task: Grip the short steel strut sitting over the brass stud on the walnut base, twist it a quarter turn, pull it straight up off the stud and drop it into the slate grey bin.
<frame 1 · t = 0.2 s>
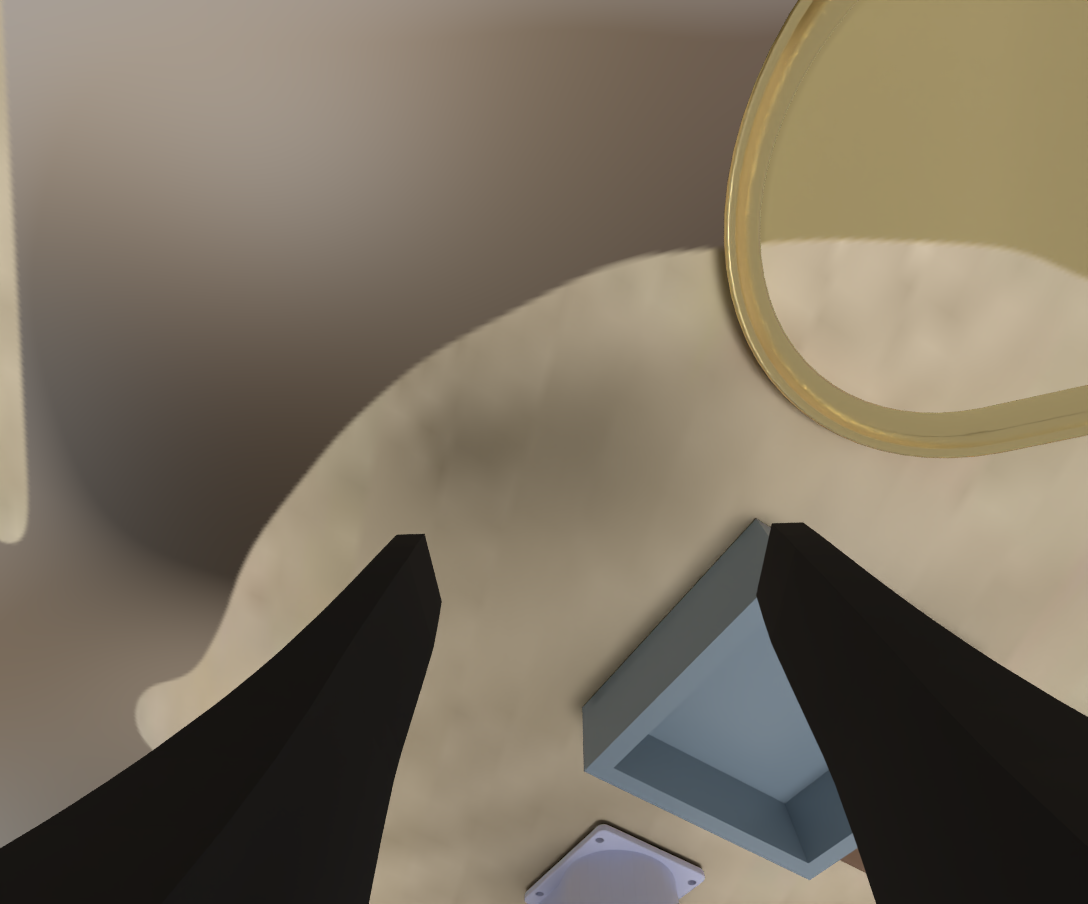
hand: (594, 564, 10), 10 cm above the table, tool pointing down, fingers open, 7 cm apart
bin: (770, 683, 25), on the table
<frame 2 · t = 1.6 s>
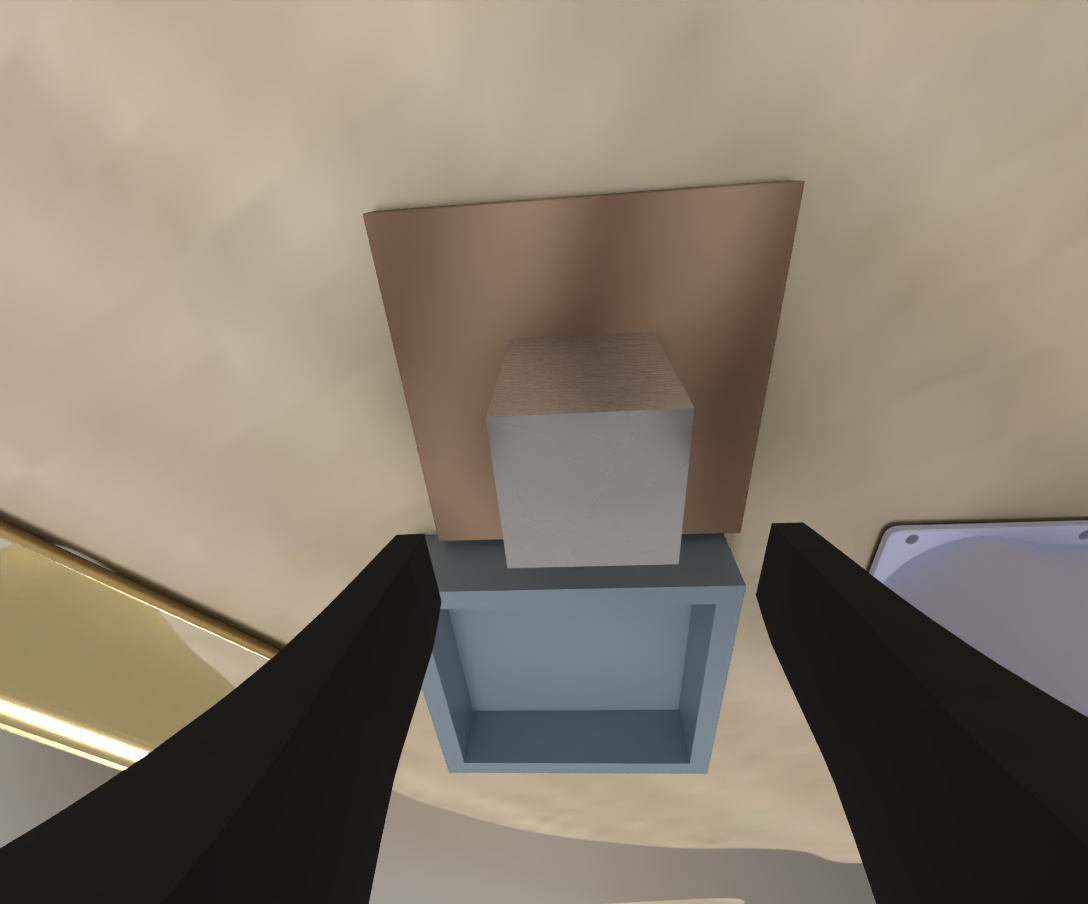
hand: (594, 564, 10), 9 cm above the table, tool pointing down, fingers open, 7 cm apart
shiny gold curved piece: (131, 663, 29), on the table
stud base: (581, 388, 18), on the table
strut: (582, 399, 17), point 1 cm above the table, touching stud base
bin: (570, 633, 25), on the table
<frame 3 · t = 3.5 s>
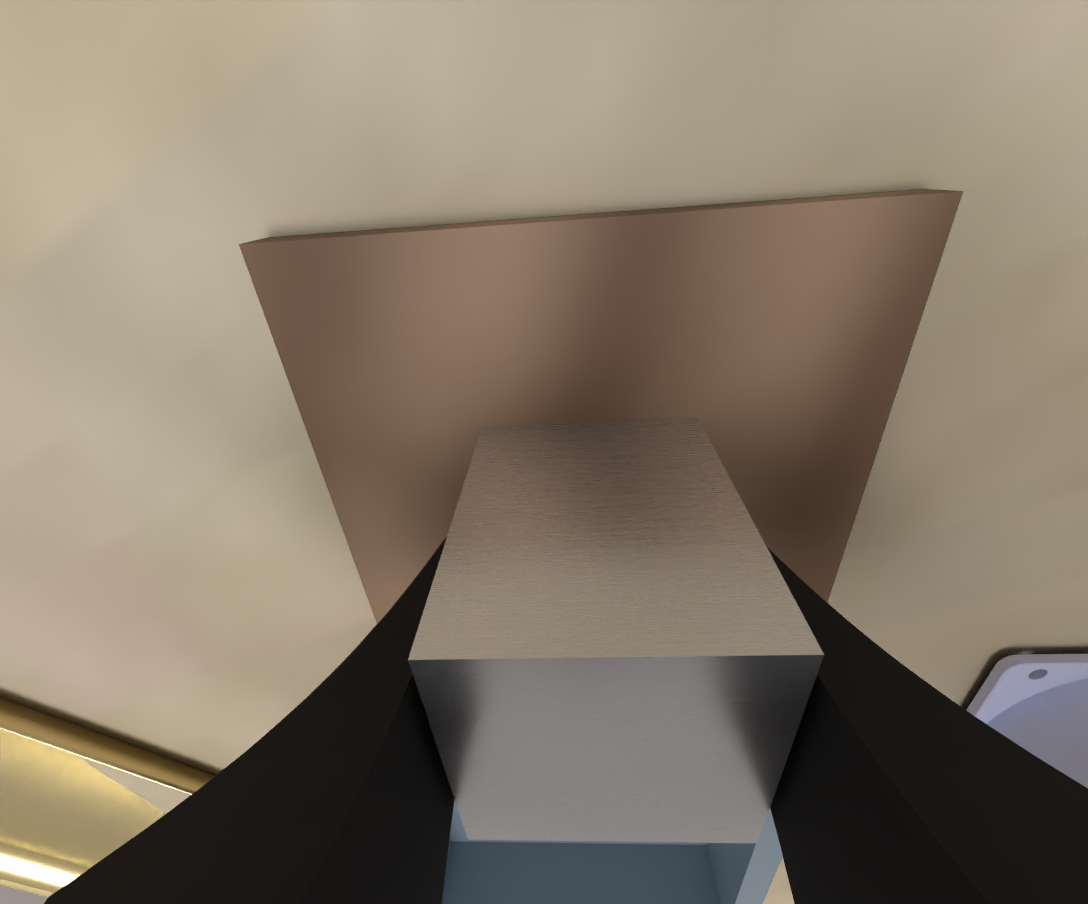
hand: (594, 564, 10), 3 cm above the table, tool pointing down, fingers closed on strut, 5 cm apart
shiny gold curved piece: (32, 778, 24), on the table
stud base: (588, 484, 13), on the table
strut: (590, 507, 12), point 1 cm above the table, touching gripper, stud base
bin: (571, 762, 20), on the table
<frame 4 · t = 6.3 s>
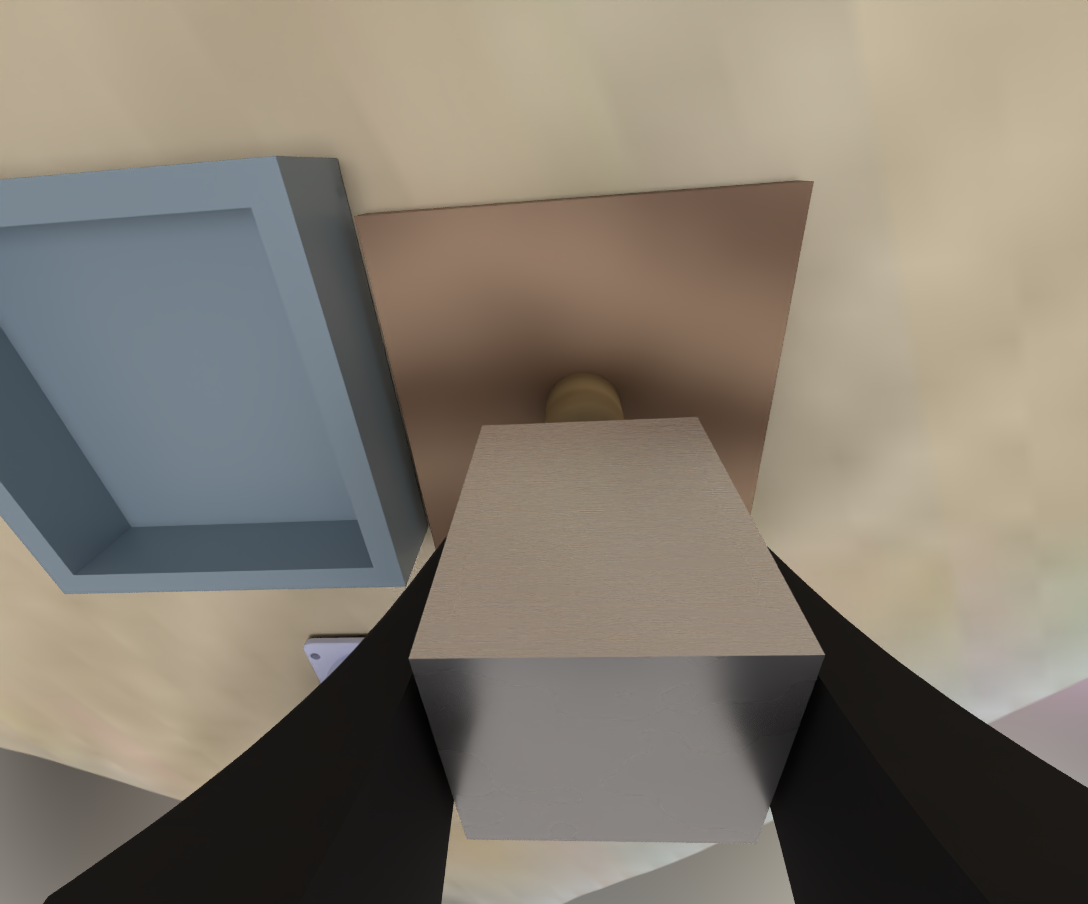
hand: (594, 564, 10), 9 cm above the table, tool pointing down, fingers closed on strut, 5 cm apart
stud base: (582, 395, 18), on the table
strut: (589, 507, 12), point 7 cm above the table, touching gripper
bin: (211, 389, 18), on the table
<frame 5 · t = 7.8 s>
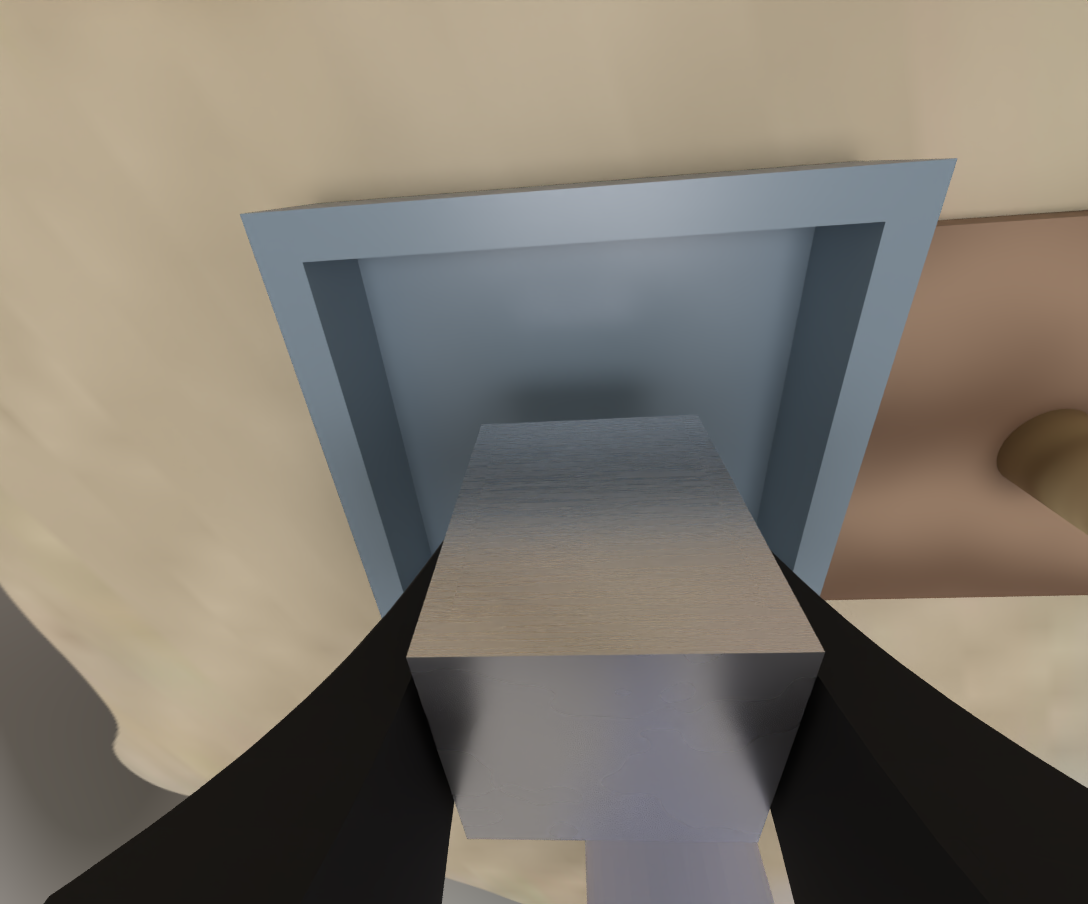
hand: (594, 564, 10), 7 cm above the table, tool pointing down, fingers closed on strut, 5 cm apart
stud base: (1018, 431, 15), on the table
strut: (590, 505, 12), point 5 cm above the table, touching gripper
bin: (584, 423, 16), on the table
when the fingers open (4 cm above the table, at t = 9.1 s): strut drops 1 cm, resting on bin.
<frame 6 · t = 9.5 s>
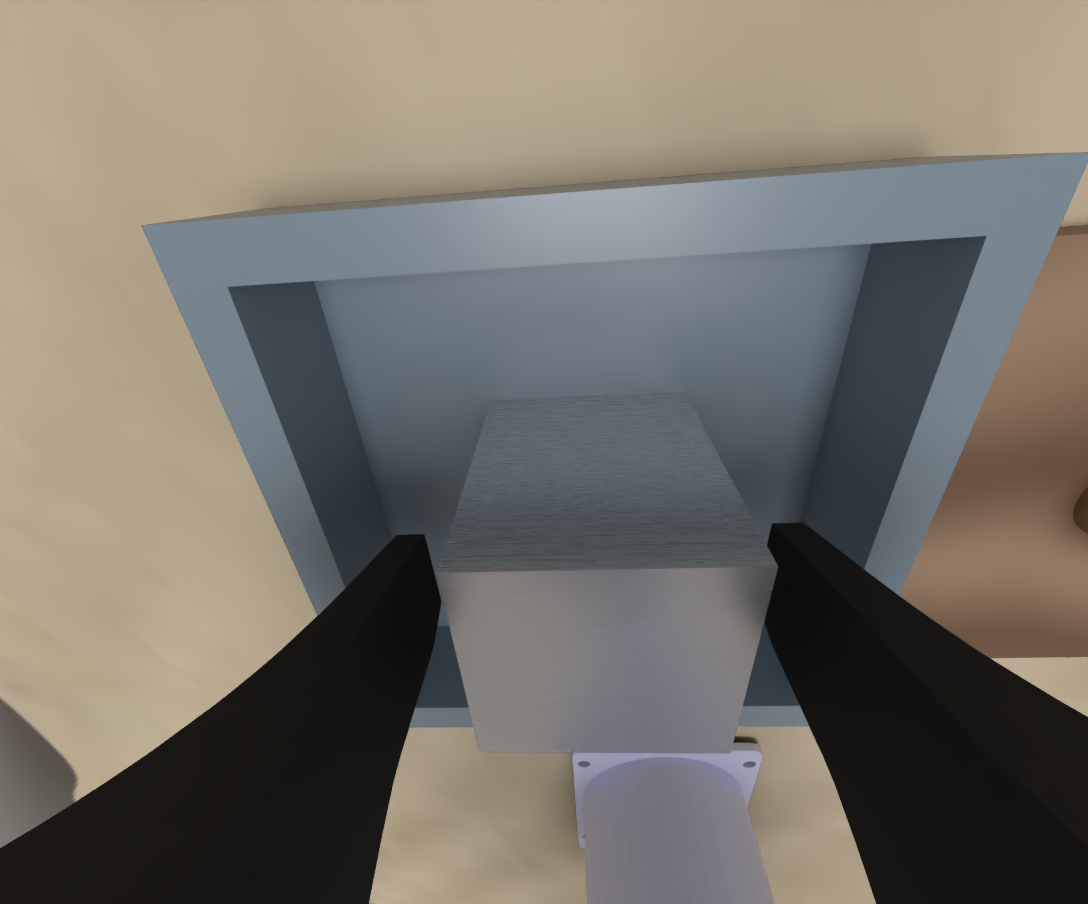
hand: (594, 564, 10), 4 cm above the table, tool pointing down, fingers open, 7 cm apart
strut: (587, 476, 13), point 1 cm above the table, touching bin
bin: (586, 464, 14), on the table
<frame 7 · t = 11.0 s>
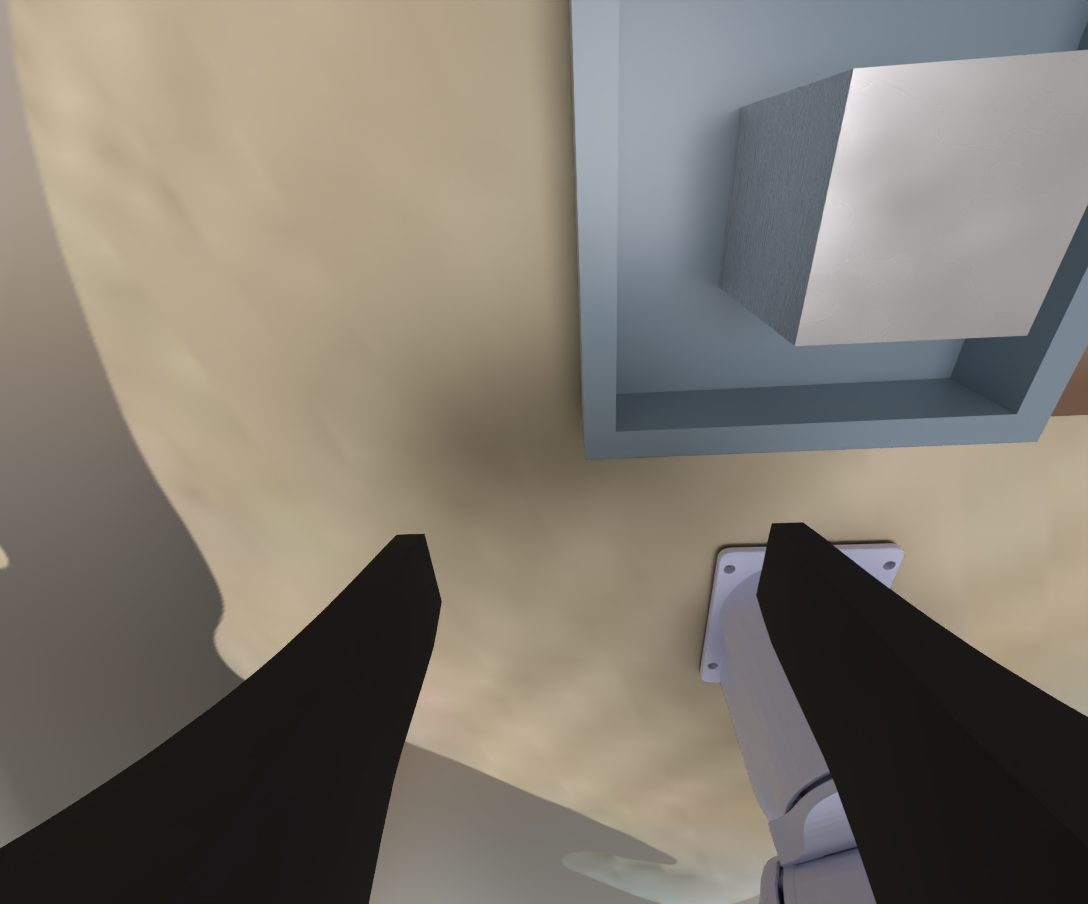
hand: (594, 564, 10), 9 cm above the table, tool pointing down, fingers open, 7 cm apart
strut: (811, 199, 14), point 1 cm above the table, touching bin
bin: (802, 198, 15), on the table
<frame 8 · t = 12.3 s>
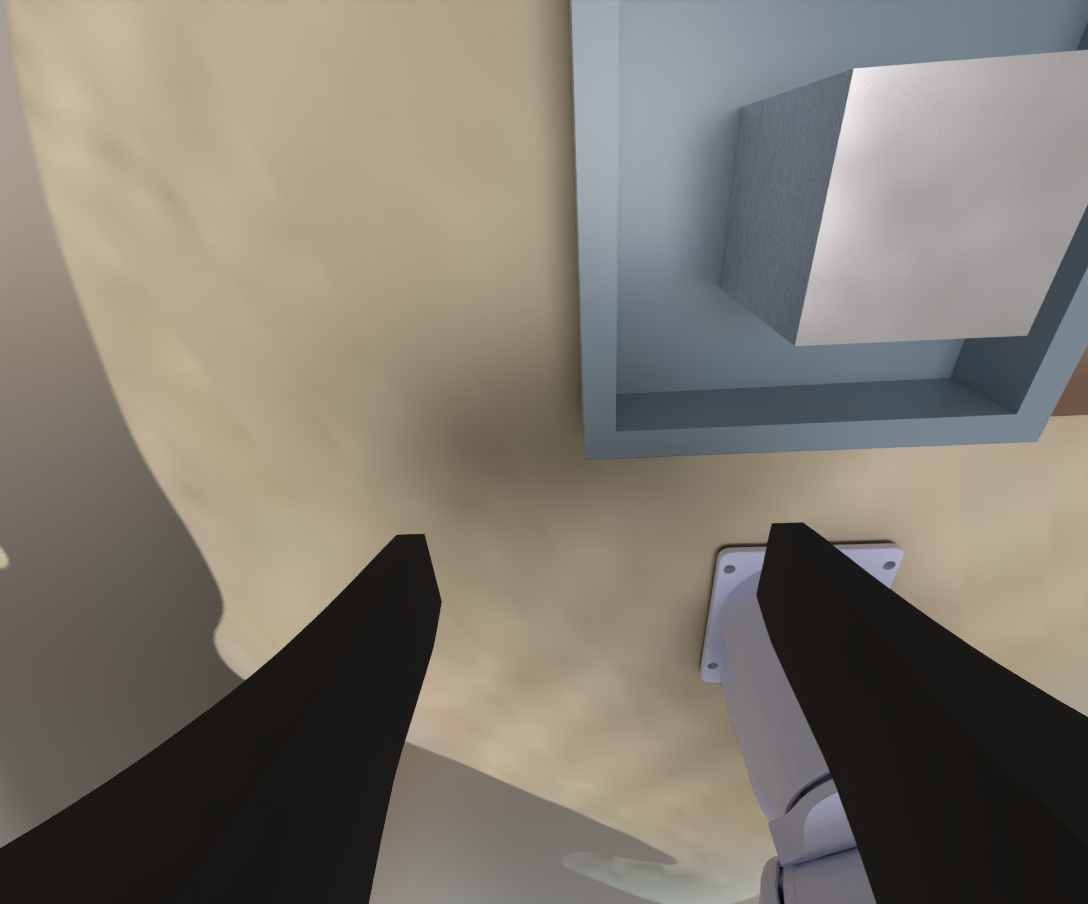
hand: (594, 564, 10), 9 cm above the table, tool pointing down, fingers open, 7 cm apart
strut: (811, 199, 14), point 1 cm above the table, touching bin
bin: (802, 198, 15), on the table
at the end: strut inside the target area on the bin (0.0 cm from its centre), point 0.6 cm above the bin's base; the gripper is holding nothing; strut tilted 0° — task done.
